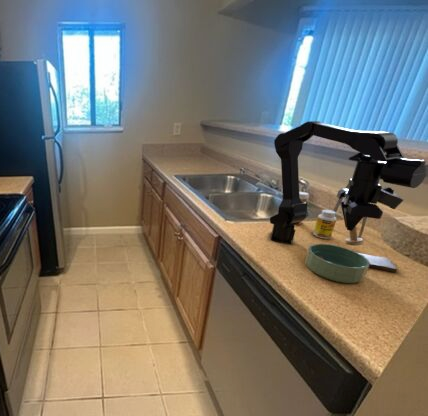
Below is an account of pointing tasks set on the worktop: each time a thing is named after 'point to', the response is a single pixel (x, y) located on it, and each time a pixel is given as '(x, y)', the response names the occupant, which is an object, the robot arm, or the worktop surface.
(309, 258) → the bowl
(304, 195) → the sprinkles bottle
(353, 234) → the wooden pestle
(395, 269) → the dark grey slate tile
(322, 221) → the supplement bottle
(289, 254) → the worktop surface
